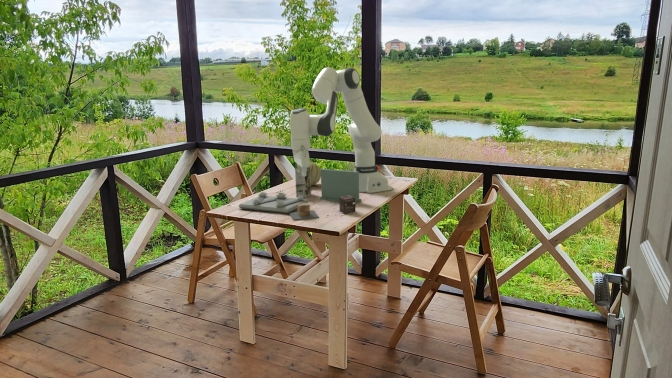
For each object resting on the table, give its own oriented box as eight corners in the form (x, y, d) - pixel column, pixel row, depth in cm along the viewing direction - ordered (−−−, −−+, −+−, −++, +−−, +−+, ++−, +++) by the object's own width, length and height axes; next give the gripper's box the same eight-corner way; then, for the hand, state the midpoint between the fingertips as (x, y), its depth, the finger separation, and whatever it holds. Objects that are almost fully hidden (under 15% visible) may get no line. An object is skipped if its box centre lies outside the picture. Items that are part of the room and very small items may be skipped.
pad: (313, 211, 236) (313, 210, 236) (319, 217, 225) (318, 216, 225) (289, 213, 233) (289, 212, 233) (293, 220, 222) (293, 219, 222)
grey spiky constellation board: (237, 209, 244) (236, 195, 242) (261, 199, 263) (260, 186, 261) (289, 214, 231) (288, 200, 230) (310, 203, 250) (309, 190, 249)
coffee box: (307, 197, 264) (306, 168, 260) (296, 197, 265) (294, 168, 261) (311, 193, 272) (310, 165, 269) (300, 193, 274) (299, 165, 270)
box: (344, 214, 230) (343, 199, 228) (339, 211, 235) (338, 196, 233) (355, 212, 232) (355, 197, 230) (350, 209, 237) (350, 195, 236)
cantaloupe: (293, 187, 288) (291, 162, 285) (303, 182, 302) (302, 158, 298) (315, 188, 283) (314, 163, 280) (325, 183, 296) (324, 159, 293)
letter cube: (307, 212, 232) (307, 202, 231) (310, 215, 227) (309, 204, 226) (297, 213, 231) (297, 203, 229) (299, 216, 226) (299, 205, 225)
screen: (319, 199, 258) (318, 170, 255) (325, 196, 263) (324, 168, 260) (356, 203, 248) (355, 173, 244) (361, 201, 253) (360, 170, 249)
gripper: (312, 147, 212) (313, 177, 215) (303, 141, 231) (304, 169, 235) (298, 148, 211) (299, 179, 214) (290, 142, 230) (291, 170, 233)
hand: (302, 174), depth 224 cm, fingers open, 8 cm apart
